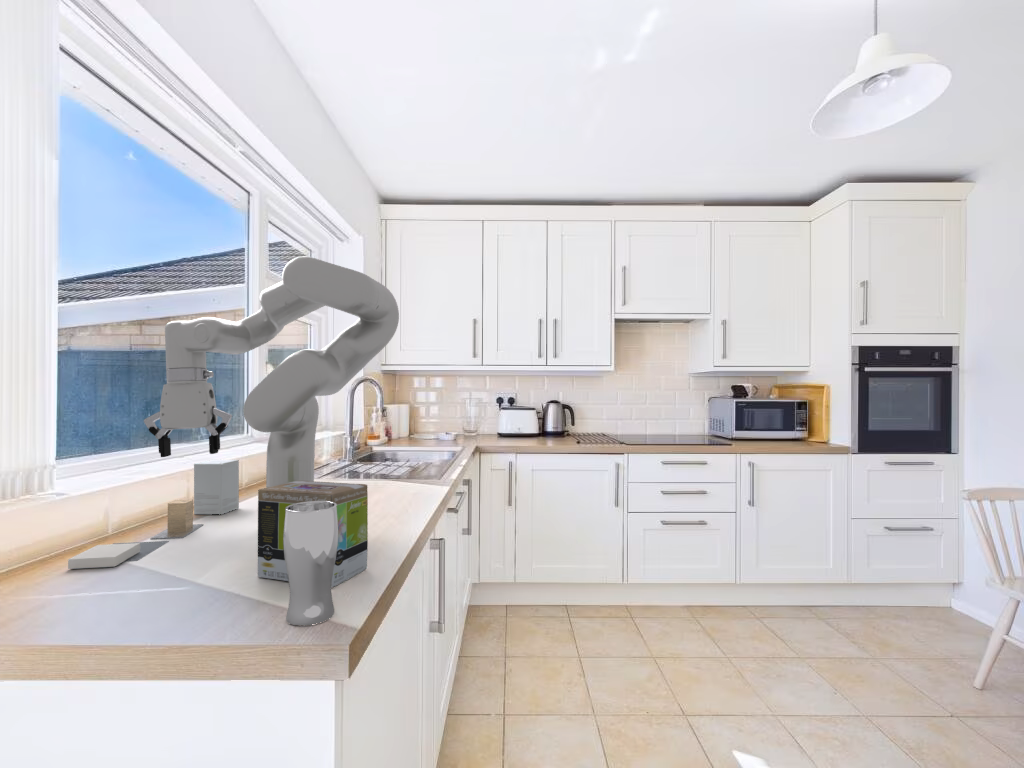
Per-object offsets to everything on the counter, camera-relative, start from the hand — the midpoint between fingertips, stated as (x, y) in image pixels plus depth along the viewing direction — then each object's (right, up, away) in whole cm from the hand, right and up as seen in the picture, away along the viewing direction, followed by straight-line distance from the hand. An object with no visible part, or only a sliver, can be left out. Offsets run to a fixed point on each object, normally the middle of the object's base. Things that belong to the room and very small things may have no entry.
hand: (190, 454), depth 112 cm
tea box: (+38, -16, -27) cm, 49 cm away
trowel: (0, -17, -2) cm, 17 cm away
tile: (-2, -15, -18) cm, 23 cm away
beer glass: (+44, -16, -43) cm, 63 cm away
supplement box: (-3, -17, +16) cm, 23 cm away
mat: (-2, -16, -17) cm, 23 cm away
